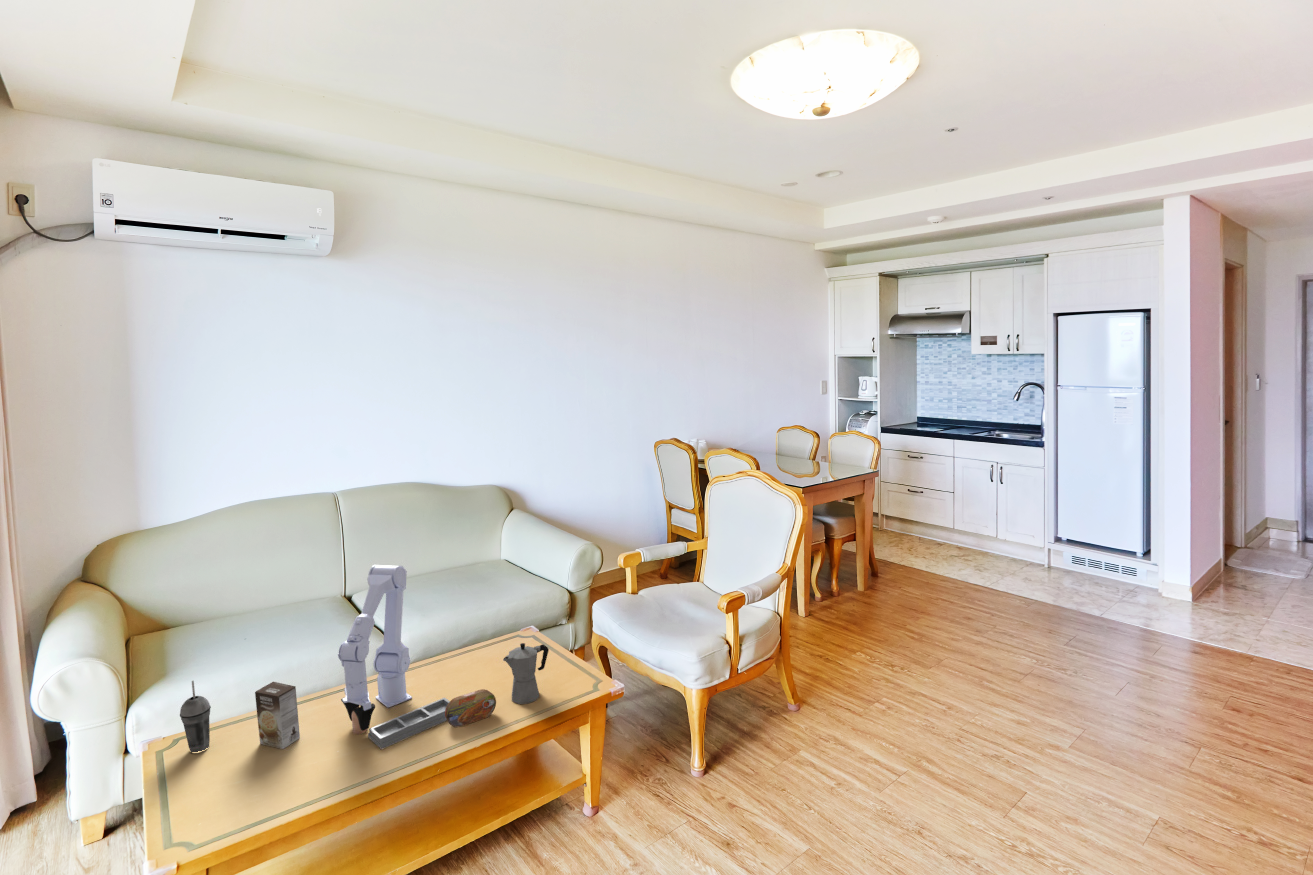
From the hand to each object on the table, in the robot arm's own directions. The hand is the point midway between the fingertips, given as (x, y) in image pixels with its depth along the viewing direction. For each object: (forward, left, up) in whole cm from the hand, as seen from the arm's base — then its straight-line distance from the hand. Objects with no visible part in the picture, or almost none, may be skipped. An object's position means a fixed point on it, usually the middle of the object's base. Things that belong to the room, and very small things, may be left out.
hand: (359, 724), depth 196 cm
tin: (+20, +25, -2) cm, 32 cm away
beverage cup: (-25, -35, -2) cm, 43 cm away
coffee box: (-12, -18, -2) cm, 22 cm away
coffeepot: (+21, +45, -2) cm, 50 cm away
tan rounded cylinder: (0, 0, -2) cm, 2 cm away
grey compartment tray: (+10, +12, -2) cm, 16 cm away
